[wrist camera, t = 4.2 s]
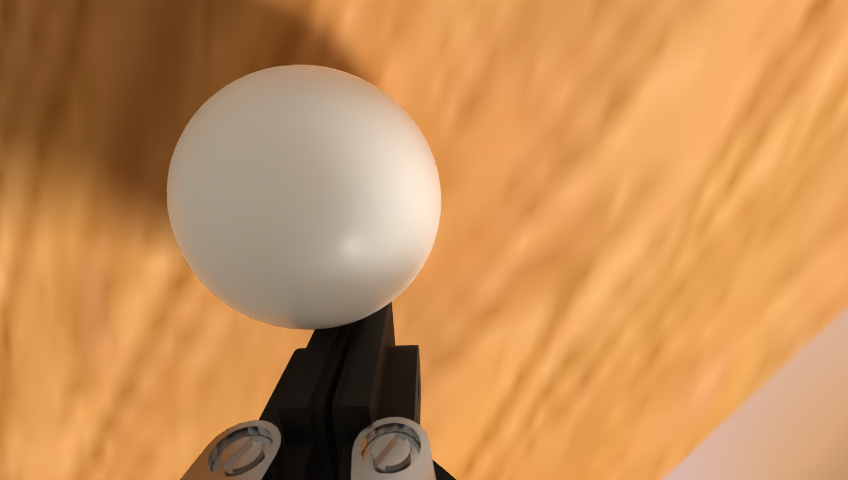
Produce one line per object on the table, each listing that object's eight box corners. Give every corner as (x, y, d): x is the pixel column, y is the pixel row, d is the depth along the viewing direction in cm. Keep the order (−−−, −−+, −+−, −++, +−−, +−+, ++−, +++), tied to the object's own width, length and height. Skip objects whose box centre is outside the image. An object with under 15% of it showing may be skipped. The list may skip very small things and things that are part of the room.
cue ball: (358, 379, 10) (276, 404, 5) (208, 258, 11) (8, 173, 6) (477, 216, 11) (513, 96, 6) (331, 119, 12) (254, -54, 7)
